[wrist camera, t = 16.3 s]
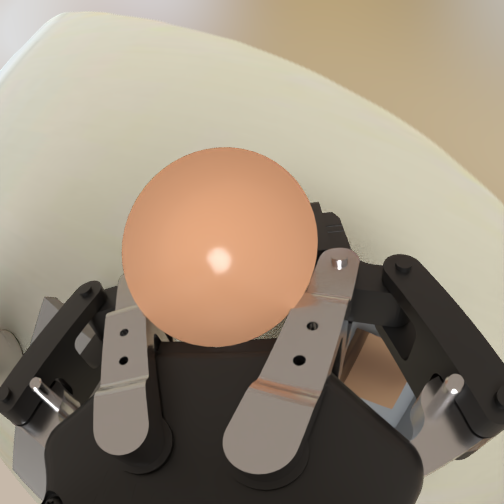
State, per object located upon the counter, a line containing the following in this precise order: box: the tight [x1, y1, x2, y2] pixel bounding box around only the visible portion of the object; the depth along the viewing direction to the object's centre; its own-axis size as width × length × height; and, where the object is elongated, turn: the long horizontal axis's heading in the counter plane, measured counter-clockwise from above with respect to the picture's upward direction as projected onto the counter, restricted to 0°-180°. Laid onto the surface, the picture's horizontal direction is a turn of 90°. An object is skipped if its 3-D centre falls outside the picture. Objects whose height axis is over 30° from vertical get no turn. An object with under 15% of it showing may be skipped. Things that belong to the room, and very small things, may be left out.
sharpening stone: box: [13, 297, 101, 501], centre depth 24 cm, size 25×8×11 cm, turn 153°
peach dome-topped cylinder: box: [122, 147, 318, 347], centre depth 12 cm, size 5×5×11 cm
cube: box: [340, 328, 407, 409], centre depth 23 cm, size 5×5×5 cm
